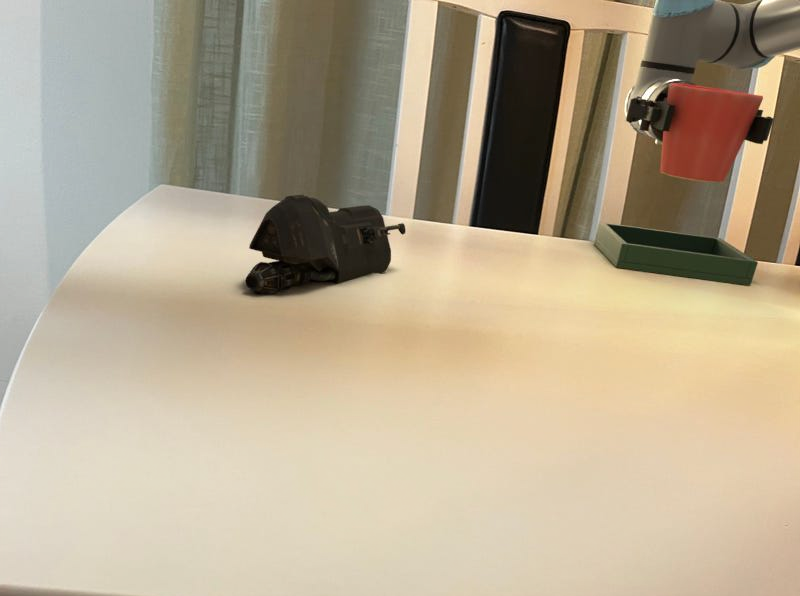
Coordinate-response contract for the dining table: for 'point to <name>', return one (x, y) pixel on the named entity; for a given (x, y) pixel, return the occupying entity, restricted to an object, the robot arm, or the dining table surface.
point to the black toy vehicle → (318, 244)
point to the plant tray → (674, 254)
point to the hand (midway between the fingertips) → (716, 124)
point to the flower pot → (705, 131)
